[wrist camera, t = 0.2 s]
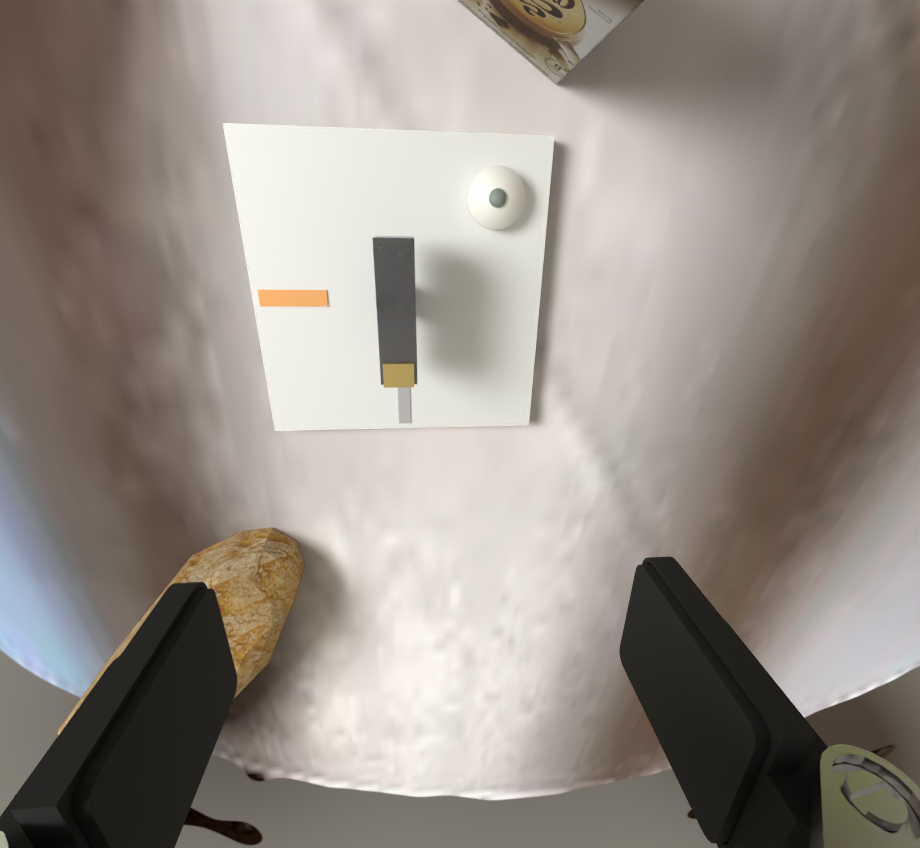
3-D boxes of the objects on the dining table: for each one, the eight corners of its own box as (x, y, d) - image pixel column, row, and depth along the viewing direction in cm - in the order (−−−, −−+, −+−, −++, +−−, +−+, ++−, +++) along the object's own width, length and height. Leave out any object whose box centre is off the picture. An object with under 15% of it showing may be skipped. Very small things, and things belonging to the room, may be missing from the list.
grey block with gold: (381, 234, 32) (371, 237, 25) (414, 235, 32) (414, 238, 26) (387, 357, 36) (380, 387, 29) (417, 357, 36) (417, 387, 29)
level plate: (231, 127, 30) (213, 118, 27) (548, 139, 32) (560, 131, 29) (279, 423, 39) (269, 437, 36) (525, 418, 41) (532, 432, 38)
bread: (233, 503, 42) (183, 579, 33) (330, 557, 46) (309, 639, 37) (69, 708, 51) (-5, 812, 42) (161, 740, 55) (111, 842, 46)
